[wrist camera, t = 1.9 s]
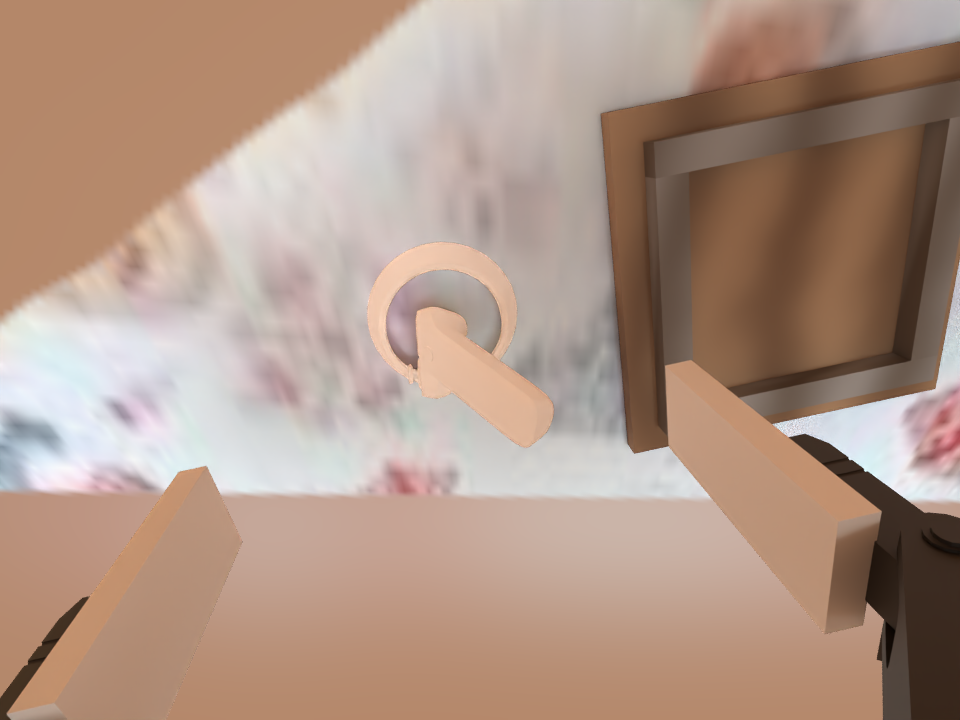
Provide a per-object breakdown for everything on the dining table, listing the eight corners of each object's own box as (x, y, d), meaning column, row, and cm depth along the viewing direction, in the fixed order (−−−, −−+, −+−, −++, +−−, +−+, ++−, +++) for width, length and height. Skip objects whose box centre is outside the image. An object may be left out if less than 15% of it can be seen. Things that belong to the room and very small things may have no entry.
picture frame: (979, 37, 24) (1030, 27, 22) (920, 381, 31) (954, 398, 29) (600, 113, 24) (617, 110, 22) (628, 444, 31) (642, 465, 29)
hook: (625, 442, 25) (519, 522, 21) (463, 338, 32) (364, 383, 28) (656, 302, 20) (529, 372, 17) (461, 219, 28) (343, 255, 24)
